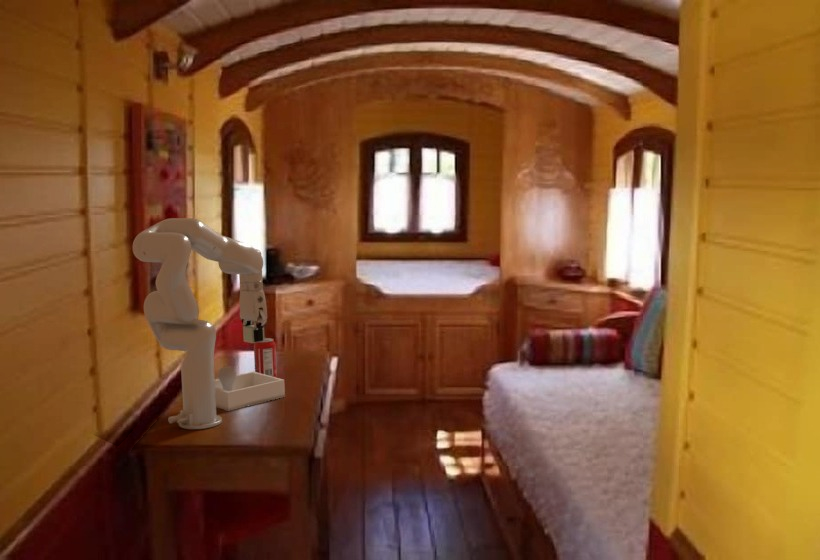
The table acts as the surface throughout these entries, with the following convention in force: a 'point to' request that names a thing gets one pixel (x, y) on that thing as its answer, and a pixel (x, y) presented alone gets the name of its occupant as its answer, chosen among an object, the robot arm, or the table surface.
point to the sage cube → (250, 334)
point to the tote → (249, 391)
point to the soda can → (265, 357)
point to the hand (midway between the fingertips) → (253, 339)
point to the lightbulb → (227, 377)
